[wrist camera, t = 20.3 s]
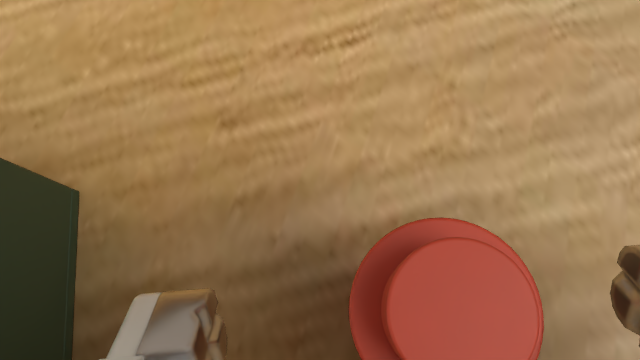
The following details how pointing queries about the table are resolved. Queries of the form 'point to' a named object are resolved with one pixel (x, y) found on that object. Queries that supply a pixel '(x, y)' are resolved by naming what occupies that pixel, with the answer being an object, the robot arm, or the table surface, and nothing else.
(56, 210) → the dark green open box
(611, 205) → the table surface
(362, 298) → the red and grey bottle
